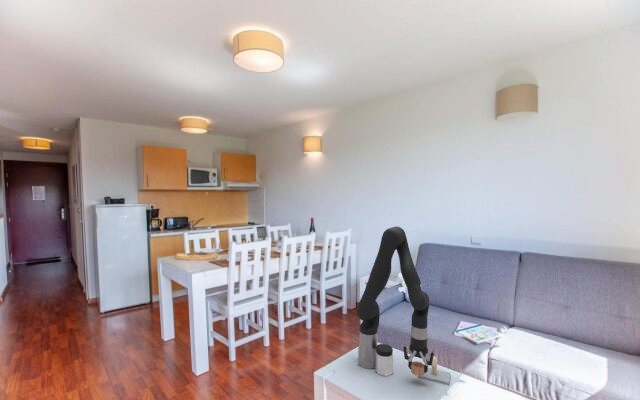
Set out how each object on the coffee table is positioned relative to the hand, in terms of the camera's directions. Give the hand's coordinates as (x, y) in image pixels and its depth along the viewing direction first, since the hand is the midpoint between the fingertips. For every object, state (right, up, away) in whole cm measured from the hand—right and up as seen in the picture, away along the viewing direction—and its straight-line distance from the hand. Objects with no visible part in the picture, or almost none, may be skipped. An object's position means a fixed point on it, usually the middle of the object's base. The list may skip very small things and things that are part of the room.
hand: (417, 370), depth 147 cm
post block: (+10, -6, +5) cm, 12 cm away
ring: (0, -1, 0) cm, 1 cm away
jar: (-14, -6, +9) cm, 18 cm away
